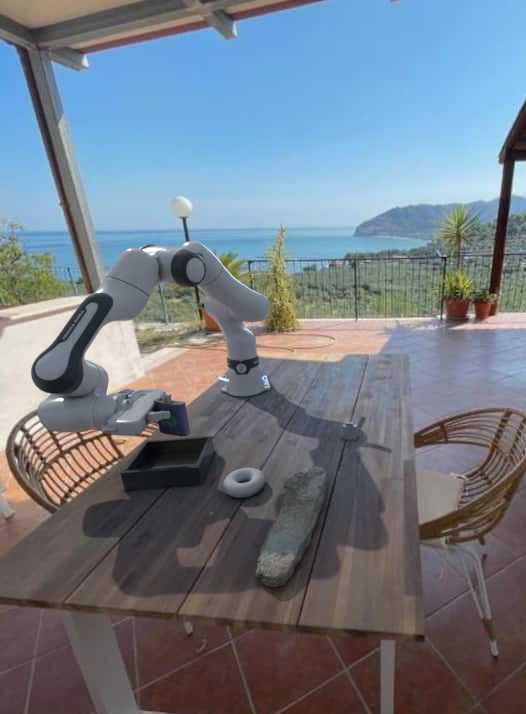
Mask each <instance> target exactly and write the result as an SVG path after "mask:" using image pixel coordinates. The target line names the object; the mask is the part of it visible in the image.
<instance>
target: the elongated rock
mask: <svg viewBox="0 0 526 714" xmlns="http://www.w3.org/2000/svg"><path fill="white" fill-rule="evenodd" d="M327 478H328V474H327V472H326V470H325V469H324V468H323V467H320V466H315V465H311V466H309V467H306V468H304V469H300V470H299V471H297V472H294V475H293V476H292V477H289V478H288V479H287V480H285V481H284V484H283V489H284V490H285V492H284V493H283V497H282V500H281V507H280V508H279V512H278V514H277V515H276V516H275V519H274V521H273V522H272V524H271V526H270V528H269V530H268V532H267V533H266V536H265V538H264V542H263V543H262V545H261V548H260V549H259V556H258V558H257V563H256V564H257V568H256V570H255V576H256V577H257V578H260V582H261V583H262V584H263V585H265V586H267V587H268V588H269V587H271V588H278V587H280V586H283V585H285V584H286V583H287V582H288V581H289V580H290V578H291V577H292V576H293V574H294V573H295V568H296V567H297V566H298V564H300V563H301V561H302V559H303V555H304V554H305V553H306V550H307V549H308V547H309V546H310V544H311V542H312V535H313V531H314V528H315V527H316V526H317V523H318V518H319V516H320V512H321V510H322V507H323V506H324V503H325V502H326V501H325V500H326V494H327V485H328V482H329V481H328V480H327Z"/></svg>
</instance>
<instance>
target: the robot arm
mask: <svg viewBox="0 0 526 714" xmlns="http://www.w3.org/2000/svg"><path fill="white" fill-rule="evenodd" d="M115 259H116V260H115V261H114V262H113V263H112V265H111V266H110V268H109V269H108V271H107V273H106V274H105V276H104V278H103V280H102V281H101V283H100V285H99V286H98V288H97V289H96V290H95V291H94V292H93V293H91V294H89V295H87V297H86V298H85V299H83V301H82V302H81V303H80V304H79V306H78V307H77V308H76V310H75V311H74V312H73V314H72V315H71V317H70V318H69V320H68V321H67V323H66V324H65V325H64V327H63V328H62V330H61V331H60V333H59V334H58V335H57V336H56V338H55V339H54V340H53V342H52V343H51V344H50V345H49V346H48V347H47V348H45V349H44V350H43V351H42V352H41V353H39V355H38V356H37V357H36V358H35V359H34V361H33V363H32V365H31V369H30V377H31V380H32V382H33V384H34V386H35V387H36V388H38V390H39V391H42V392H43V393H46V394H49V395H48V396H47V397H46V398H45V399H44V400H43V401H41V402H40V403H39V404H38V406H37V417H38V420H39V423H40V424H41V425H42V426H43V427H44V428H45V429H47V430H48V431H51V432H55V433H86V432H89V431H98V432H101V433H103V434H104V433H106V434H107V433H109V434H110V435H111V436H120V437H121V436H126V437H127V436H129V437H130V436H131V437H132V436H133V437H134V436H138V435H141V434H142V433H144V431H145V430H146V429H147V428H148V426H149V425H150V424H151V423H154V422H158V420H161V419H169V418H170V417H171V416H172V412H171V410H163V411H161V412H156V408H155V403H154V400H155V399H156V398H161V397H163V395H164V396H165V395H167V392H166V391H165V390H163V389H159V388H157V389H155V388H154V389H153V388H152V389H151V388H150V389H149V388H147V389H146V388H145V389H136V390H134V388H132V387H131V388H129V387H128V388H125V389H122V390H120V391H118V392H115V393H110V394H107V392H108V389H109V388H108V386H109V381H110V380H109V374H108V372H107V370H106V369H105V368H104V367H103V366H101V365H99V364H98V363H95V362H94V361H92V360H88V359H85V357H86V354H87V351H88V349H89V348H90V346H91V345H92V344H93V342H94V340H95V339H96V337H97V336H98V334H99V333H100V331H101V330H102V329H103V328H104V327H105V326H106V325H107V324H110V323H113V322H129V321H133V320H135V319H137V318H139V316H140V315H141V314H142V313H143V312H144V310H145V309H146V308H147V305H148V303H149V301H150V299H151V297H152V295H153V293H154V290H155V287H156V286H157V285H158V284H159V285H164V286H169V287H170V286H171V287H181V288H185V289H186V288H195V287H197V288H198V289H199V290H200V291H201V292H202V293H203V294H204V295H205V298H204V300H203V301H204V302H203V304H204V305H203V307H204V311H205V313H206V314H207V316H209V317H210V318H211V319H212V320H214V322H215V323H216V325H218V327H219V329H220V331H221V333H222V335H223V339H224V341H225V347H226V354H227V357H226V364H227V368H226V370H225V371H224V377H220V376H218V379H219V380H221V381H224V383H225V385H224V386H223V387H222V388H221V392H222V393H226V394H228V395H230V396H234V397H251V396H256V395H259V394H261V393H263V392H265V391H266V392H267V391H269V390H271V385H270V381H269V378H268V376H267V375H265V372H264V369H263V368H262V366H261V365H260V356H259V354H258V348H257V338H256V336H255V334H254V333H253V332H252V331H250V330H249V329H248V328H247V327H246V325H245V324H244V323H258V322H263V321H266V319H267V318H268V317H269V314H270V312H271V304H270V301H269V299H268V298H267V296H266V295H264V294H262V293H259V292H257V291H255V290H254V289H252V288H250V287H249V286H247V285H246V284H244V283H242V282H241V281H240V280H238V279H237V278H236V277H235V276H233V275H232V273H231V272H230V271H229V270H228V269H227V268H226V267H225V265H224V264H223V263H222V262H221V261H220V260H221V259H219V258H218V257H217V256H216V254H214V252H213V251H211V250H210V249H209V248H208V247H207V246H205V245H204V244H203V243H202V242H200V241H197V240H188V241H186V242H184V243H182V244H181V245H180V247H178V246H177V247H176V246H171V245H155V244H145V245H142V246H140V247H138V248H136V247H130V248H127V249H124V250H123V251H122V252H121V254H119V256H118V257H117V258H115ZM163 398H164V397H163Z"/></svg>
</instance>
